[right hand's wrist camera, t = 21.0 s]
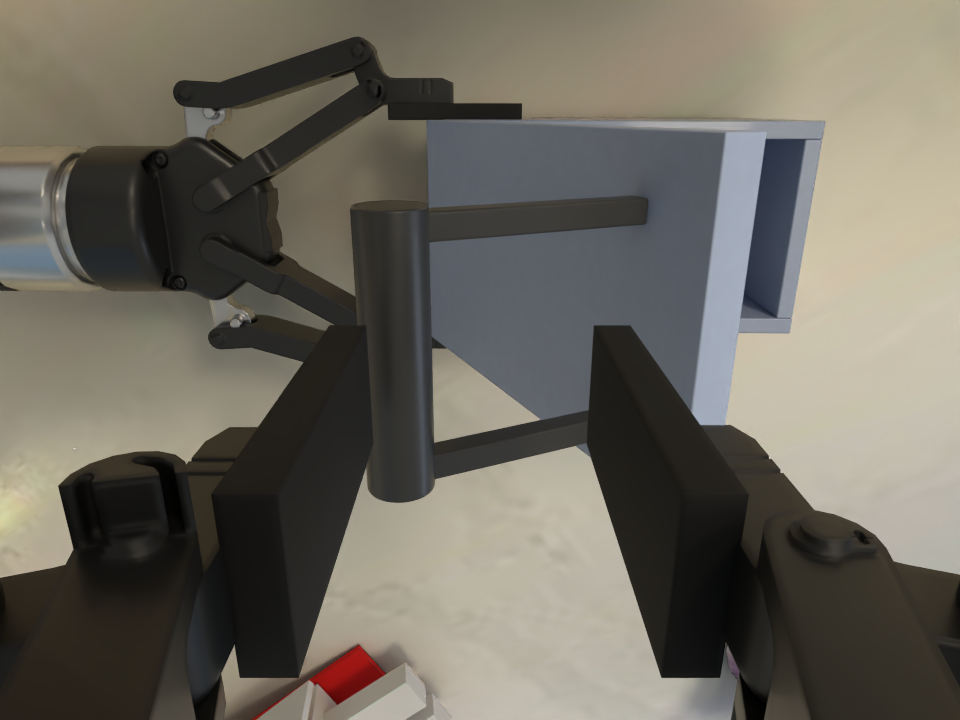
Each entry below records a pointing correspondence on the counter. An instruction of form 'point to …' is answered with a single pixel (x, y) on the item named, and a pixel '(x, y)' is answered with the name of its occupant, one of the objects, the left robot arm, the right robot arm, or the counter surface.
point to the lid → (549, 279)
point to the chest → (758, 207)
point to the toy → (358, 694)
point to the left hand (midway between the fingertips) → (517, 220)
